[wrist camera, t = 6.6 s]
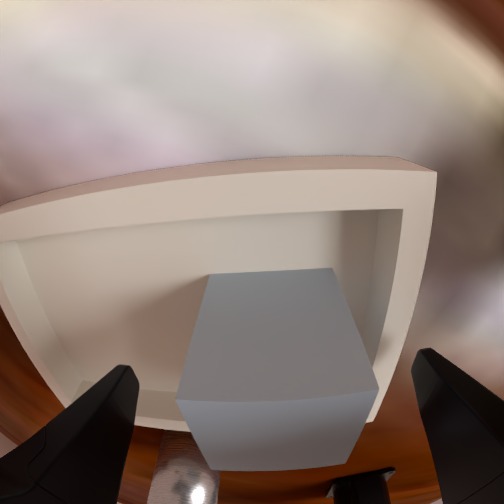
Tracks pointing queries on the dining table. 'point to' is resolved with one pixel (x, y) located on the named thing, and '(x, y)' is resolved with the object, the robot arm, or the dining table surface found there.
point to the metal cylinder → (182, 472)
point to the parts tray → (205, 261)
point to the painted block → (276, 372)
